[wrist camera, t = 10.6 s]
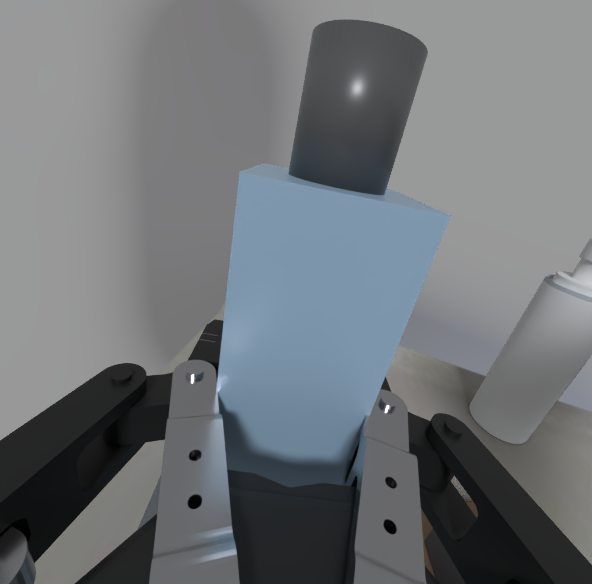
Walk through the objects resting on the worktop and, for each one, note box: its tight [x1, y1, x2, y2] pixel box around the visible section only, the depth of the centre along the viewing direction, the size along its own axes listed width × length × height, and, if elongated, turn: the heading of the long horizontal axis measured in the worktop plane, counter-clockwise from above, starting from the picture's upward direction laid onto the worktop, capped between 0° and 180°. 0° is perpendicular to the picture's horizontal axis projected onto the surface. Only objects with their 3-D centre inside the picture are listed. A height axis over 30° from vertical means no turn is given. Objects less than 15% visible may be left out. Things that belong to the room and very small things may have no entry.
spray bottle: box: [469, 238, 592, 444], centre depth 33 cm, size 7×7×25 cm
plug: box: [216, 20, 451, 487], centre depth 11 cm, size 4×4×19 cm
